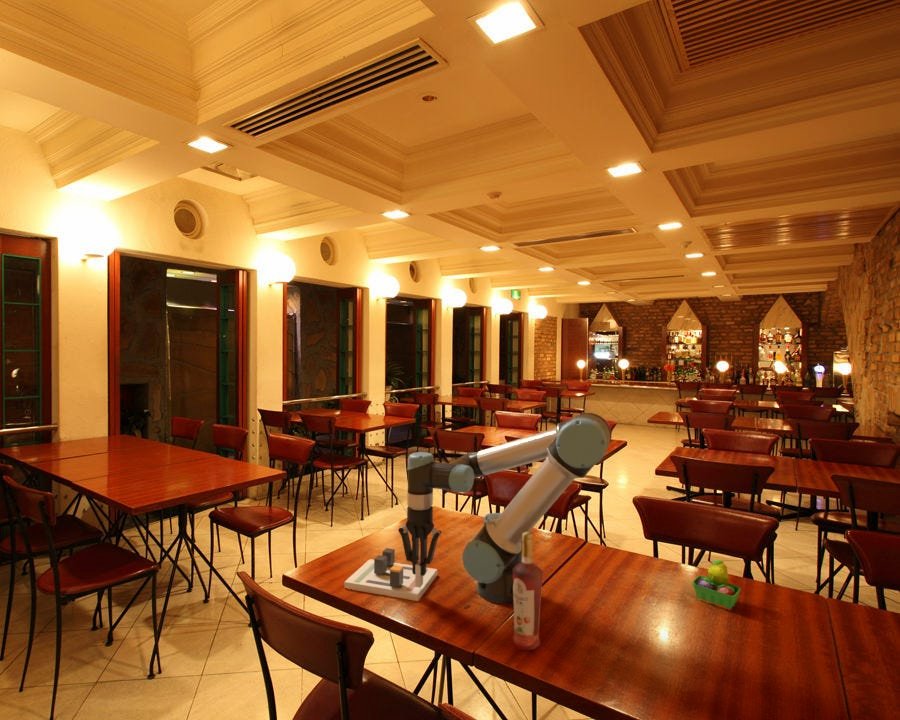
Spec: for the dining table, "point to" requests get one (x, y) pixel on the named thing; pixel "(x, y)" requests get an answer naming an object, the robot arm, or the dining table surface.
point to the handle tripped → (396, 576)
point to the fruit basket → (716, 586)
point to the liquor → (527, 598)
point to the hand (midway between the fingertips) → (419, 585)
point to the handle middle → (380, 564)
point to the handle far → (389, 556)
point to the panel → (380, 583)
